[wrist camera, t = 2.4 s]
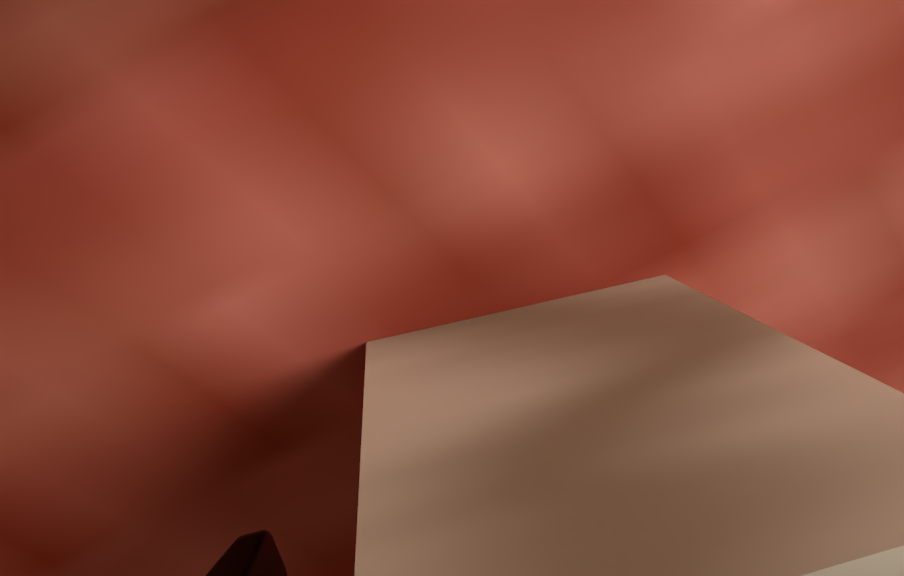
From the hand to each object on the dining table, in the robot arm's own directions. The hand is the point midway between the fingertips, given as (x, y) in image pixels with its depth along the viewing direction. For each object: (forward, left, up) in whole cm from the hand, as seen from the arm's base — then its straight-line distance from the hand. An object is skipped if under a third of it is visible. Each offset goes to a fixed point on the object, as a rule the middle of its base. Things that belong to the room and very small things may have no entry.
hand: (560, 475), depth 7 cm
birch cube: (0, 0, -1) cm, 1 cm away
